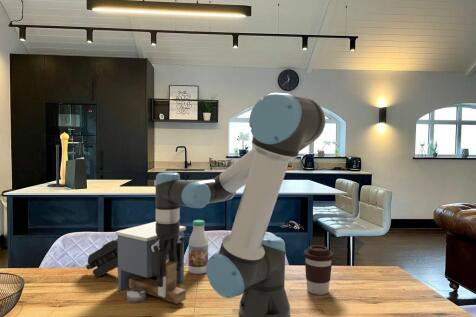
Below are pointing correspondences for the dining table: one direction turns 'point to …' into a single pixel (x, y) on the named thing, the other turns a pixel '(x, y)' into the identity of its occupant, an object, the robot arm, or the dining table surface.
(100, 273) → the tool
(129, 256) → the cabinet
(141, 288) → the puck
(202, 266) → the milk bottle
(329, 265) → the coffee cup
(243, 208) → the robot arm
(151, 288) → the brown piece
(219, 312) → the dining table surface
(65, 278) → the dining table surface
